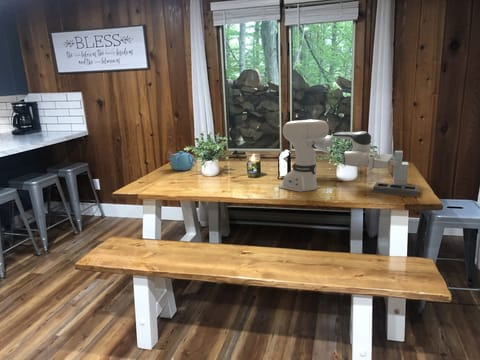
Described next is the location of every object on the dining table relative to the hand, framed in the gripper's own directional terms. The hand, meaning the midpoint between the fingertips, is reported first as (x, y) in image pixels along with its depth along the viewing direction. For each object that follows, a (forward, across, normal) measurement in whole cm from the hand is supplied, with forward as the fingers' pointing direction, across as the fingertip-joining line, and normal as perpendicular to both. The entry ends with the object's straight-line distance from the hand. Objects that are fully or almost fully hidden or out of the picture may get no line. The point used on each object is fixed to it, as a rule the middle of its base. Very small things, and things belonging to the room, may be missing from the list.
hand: (399, 161), depth 206 cm
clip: (-1, 0, -8) cm, 8 cm away
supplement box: (-1, -16, -17) cm, 24 cm away
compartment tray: (-1, 0, -17) cm, 17 cm away
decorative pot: (-147, -1, -17) cm, 148 cm away
